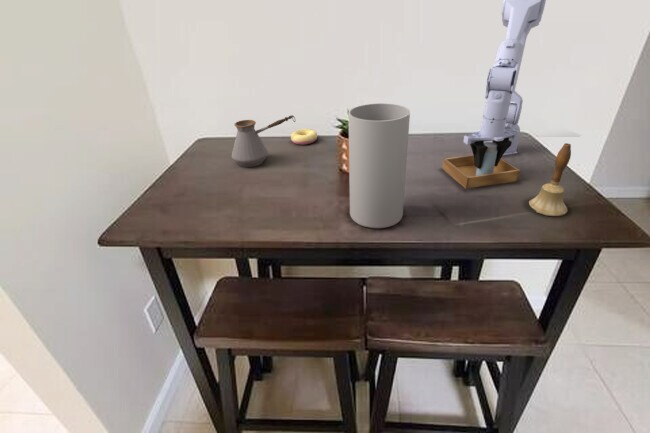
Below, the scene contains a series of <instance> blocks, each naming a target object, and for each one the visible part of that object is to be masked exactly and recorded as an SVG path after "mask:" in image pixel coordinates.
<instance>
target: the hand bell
mask: <svg viewBox="0 0 650 433" xmlns="http://www.w3.org/2000/svg"><path fill="white" fill-rule="evenodd" d="M571 156H572V145H571V143H563V146H562V147H561V148H560V149H559V151H558V152H557V154H556V158H555V161H554V162H555V164H554V165H555V170H554V172H553V176H552V178H551V180H550V183H549V182H548V183H544V184H543V185H542V186H541V189H540V191H539V192H538V194H537V195H536V196H535V197H533V198H531V199H530V200H529V201H528V203H529V206H530V208H532V209H533V212H535V213H538V214H540V215H543V216H547V217H562V216H565V215H566V214H567V213H568V207H567V206H566V204H565V202H564V193H565V188H564V187H563V186H562V185H560V182H561V179H562V176H563V172H564V171H565V169H566V168H567V166H568V164H569V162H570V160H571Z"/></svg>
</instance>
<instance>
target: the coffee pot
mask: <svg viewBox="0 0 650 433" xmlns="http://www.w3.org/2000/svg"><path fill="white" fill-rule="evenodd" d="M291 119H292V121H293V122H294V123H295V122H296V117H295V115H293V114H291V115H289V116H285V117H284V118H281V119H278V120H276V121H274V122H272V123H270V124H268V125H267V126H264V127H261V128H259V129H257V130H256V129H255V125H256V121H255V120H254V119H243V120H238V121H236V122H235V123H234V127H236V130H237V131H236V136H235V140H234V144H233V147H232V151H231V159H232V160H233V162H235V163H236V164H238V165H239V166H241V167H245V168H252V167H256V166H259V165H262V164H263V163H264V161H265V160H266V159H267V157H268V154H269V151H268V149H267V147H266V145H265V144H264V142H263V140H262V139H261V137H260V135H259V134H260V133H262V132H264V131H267V130H268V129H271V128H274V127H277V126H279V125H281V124H283V123H284V122H288V121H289V120H291Z"/></svg>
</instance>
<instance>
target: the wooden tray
mask: <svg viewBox="0 0 650 433" xmlns="http://www.w3.org/2000/svg"><path fill="white" fill-rule="evenodd" d="M442 160H443V161H442V170H443V171H444V172H446V174H448V175H449V176H450V177H451V178H453V179H454V180H455V181H456V182H457V183H459V185H461V186H462V187H463V188H464V189H472V188H478V187H486V186H493V185H498V184H506V183H512V182H518V181H519V178H520V173H521V169H520V168H518V167H516V166H514V165H512V164H511V163H510V162H508V161H506V160H505V159H503V158H501V159H500V161H499V163H498V165H497V166H495V167H494V171H493V173H492V174H485V175H478V176H476V169H477V167H475V166H474V156H473V154H469V155H461V156H454V157H448V158H447V157H446V158H443V159H442Z"/></svg>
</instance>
